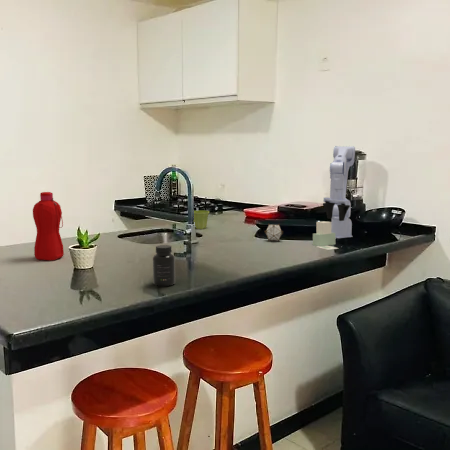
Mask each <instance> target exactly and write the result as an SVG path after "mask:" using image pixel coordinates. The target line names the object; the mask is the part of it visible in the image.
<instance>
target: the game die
mask: <svg viewBox="0 0 450 450" xmlns="http://www.w3.org/2000/svg"><path fill="white" fill-rule="evenodd" d="M280 225H281V223H278V224H270V222H269V223H268V226H267V228H266V230H264V234H265V235H266V238H267V239H268V240H267V242H269V241H277V242H280V241H281V240H280V238H281V237H282V235H284V230H282V229H281V226H280Z"/></svg>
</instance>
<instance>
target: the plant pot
mask: <svg viewBox="0 0 450 450" xmlns="http://www.w3.org/2000/svg"><path fill="white" fill-rule="evenodd" d="M193 211H194V220H193V223H194V222H195V226H196V228H195V229H197V230H203V229H207V226H208V219H209V218H208V217H209V214H210V211H209V210H193Z"/></svg>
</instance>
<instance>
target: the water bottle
mask: <svg viewBox="0 0 450 450" xmlns="http://www.w3.org/2000/svg"><path fill="white" fill-rule="evenodd" d="M53 195H54V194H53V192H51V191H43V192H40V194H39V198H40V200H39V201H37V202H36V203H35V204H34V205H33V208H32V218H33V221H34V224H35V228H36V237H35V241H34V247H33V249H34V250H33V252H34V254H33V255H34V258H35V259H37V260H39V261H56V260H58V259H61V258H63V256H64V255H65V253H64V244H63V241H62V237H61V234H60V229H61V228H63V226H64V224H63V223H64V222H63V216H62V215H63V212H62V209H61V207H62V206H61V205H60V203H58V202H57V201H56V200H54V196H53ZM60 226H61V227H60Z"/></svg>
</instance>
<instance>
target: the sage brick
mask: <svg viewBox="0 0 450 450" xmlns="http://www.w3.org/2000/svg"><path fill="white" fill-rule="evenodd" d="M312 245H313V246H326V245H328V246H332V245H336V238H335V233H331V234H317V232H316V233H312Z"/></svg>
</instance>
